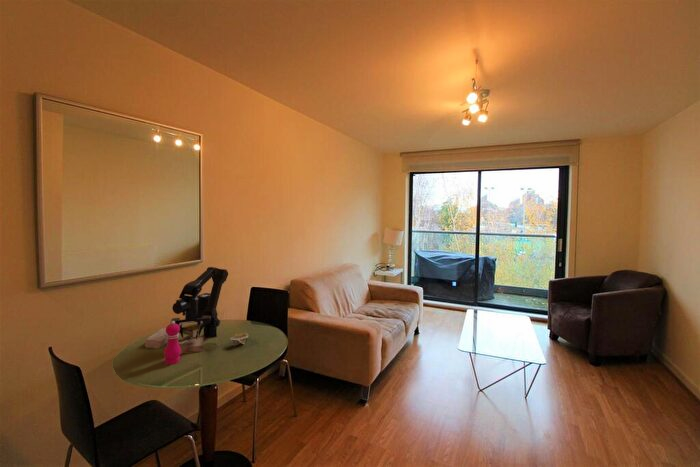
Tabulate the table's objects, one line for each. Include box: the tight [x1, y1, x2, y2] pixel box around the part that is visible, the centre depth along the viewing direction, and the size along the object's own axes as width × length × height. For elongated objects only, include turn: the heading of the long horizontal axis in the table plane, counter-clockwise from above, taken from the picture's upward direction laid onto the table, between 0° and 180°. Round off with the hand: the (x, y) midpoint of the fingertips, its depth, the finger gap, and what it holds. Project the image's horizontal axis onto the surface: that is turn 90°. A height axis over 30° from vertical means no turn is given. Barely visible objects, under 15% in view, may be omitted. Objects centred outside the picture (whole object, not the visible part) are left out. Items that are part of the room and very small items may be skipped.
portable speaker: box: [196, 292, 211, 328], centre depth 200 cm, size 9×9×20 cm
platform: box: [230, 332, 249, 347], centre depth 176 cm, size 12×18×7 cm, turn 135°
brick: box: [144, 327, 168, 349], centre depth 175 cm, size 17×8×5 cm, turn 1°
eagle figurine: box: [178, 326, 199, 342], centre depth 168 cm, size 8×7×9 cm
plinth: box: [178, 336, 204, 355], centre depth 169 cm, size 12×12×3 cm
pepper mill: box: [163, 321, 181, 365], centre depth 153 cm, size 7×7×20 cm
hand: (190, 336), depth 169 cm, fingers closed on eagle figurine, 7 cm apart
